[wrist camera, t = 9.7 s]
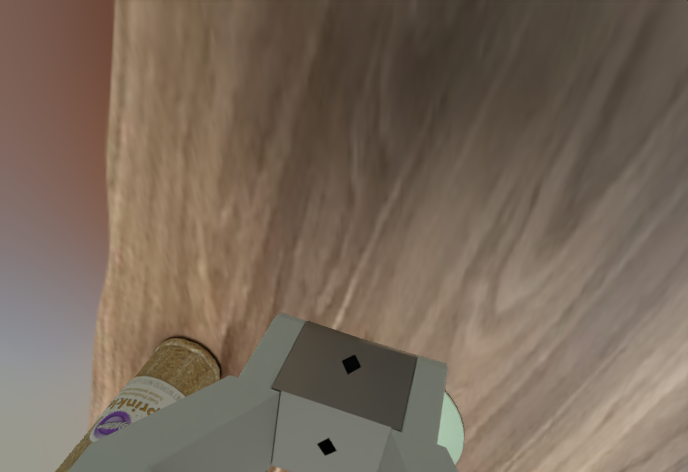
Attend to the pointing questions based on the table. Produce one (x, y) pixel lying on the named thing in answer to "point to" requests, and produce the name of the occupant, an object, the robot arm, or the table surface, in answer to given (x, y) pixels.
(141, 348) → the table surface
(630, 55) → the table surface
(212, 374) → the sprinkles bottle
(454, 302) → the table surface
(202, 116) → the table surface
